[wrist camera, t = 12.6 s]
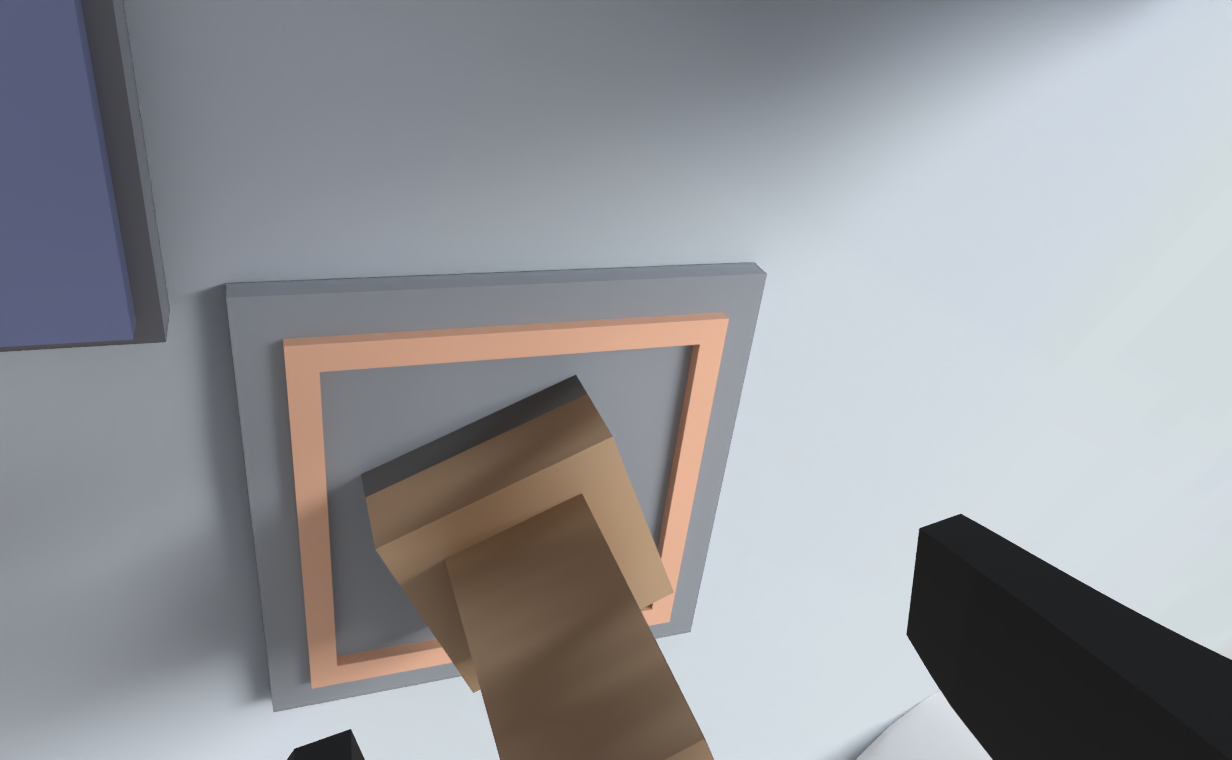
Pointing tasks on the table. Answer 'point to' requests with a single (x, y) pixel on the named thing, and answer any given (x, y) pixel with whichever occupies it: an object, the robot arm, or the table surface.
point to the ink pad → (74, 183)
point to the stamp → (538, 580)
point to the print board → (450, 399)
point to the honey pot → (927, 735)
